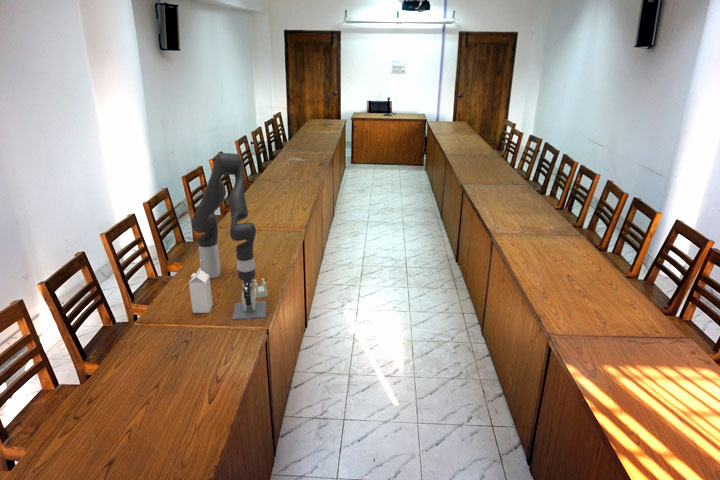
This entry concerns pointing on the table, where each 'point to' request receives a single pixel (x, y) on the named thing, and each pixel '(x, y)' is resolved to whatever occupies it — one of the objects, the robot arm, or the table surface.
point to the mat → (249, 311)
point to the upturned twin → (260, 289)
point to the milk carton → (200, 292)
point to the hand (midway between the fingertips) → (249, 301)
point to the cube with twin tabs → (253, 297)
